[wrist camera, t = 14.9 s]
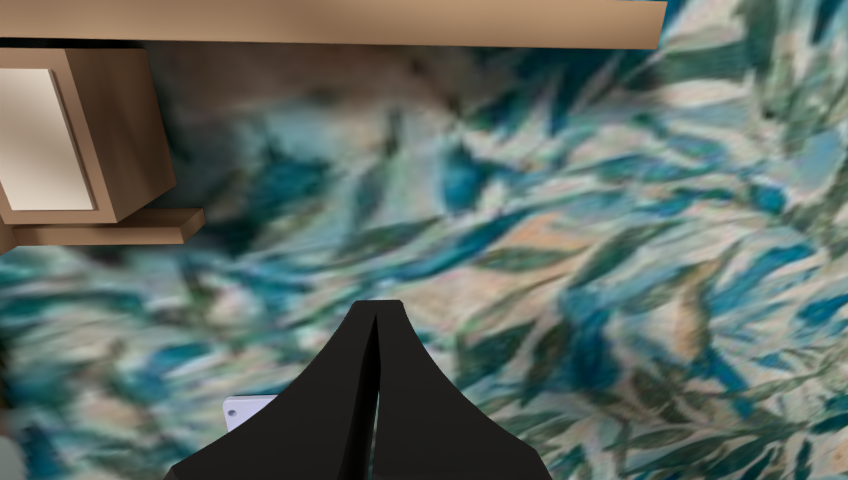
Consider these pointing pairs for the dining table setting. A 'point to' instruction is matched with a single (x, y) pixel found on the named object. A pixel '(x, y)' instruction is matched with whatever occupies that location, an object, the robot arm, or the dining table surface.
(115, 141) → the cabinet block
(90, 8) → the wooden bracket
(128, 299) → the dining table surface
